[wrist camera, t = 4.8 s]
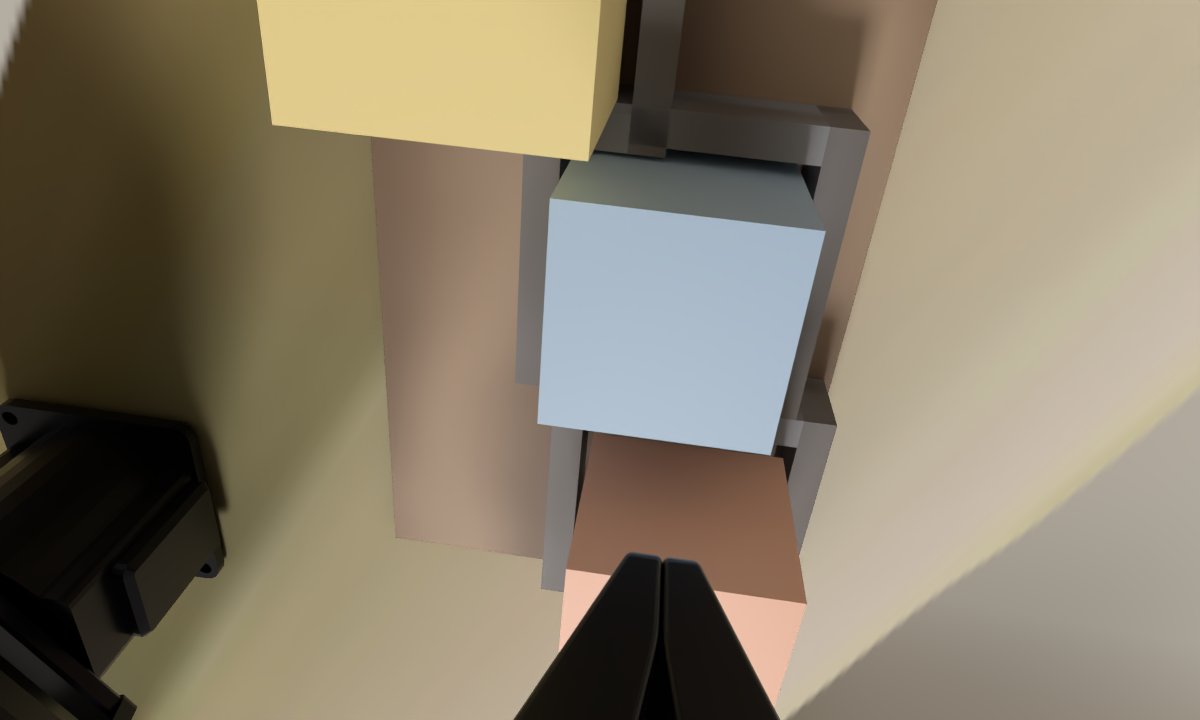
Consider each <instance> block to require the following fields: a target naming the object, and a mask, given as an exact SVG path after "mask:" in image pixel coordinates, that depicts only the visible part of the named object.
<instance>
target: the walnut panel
mask: <svg viewBox="0 0 1200 720" xmlns="http://www.w3.org/2000/svg"><path fill="white" fill-rule="evenodd" d="M936 4H937V0H627V5H626V15H625V26H624V36H623V47H622V58H621V68H620V79H619V89H618V99H617V101H616V103H615V106H614V108H613V110H612V112H611V114H610V116H609V118H608V120H607V123H606V125H605V127H604V129H603V131H602V133H601V135H600V138H599V140H598V142H597V144H596V146H595V148H594V150H599V151H607V152H616V153H625V154H633V155H642V156H651V157H659V158H665V155H666V149H674V150H683V151H691V152H700V153H709V154H718V155H726V156H735V157H744V158H752V159H761V160H770V161H778V162H787V163H796V164H797V165H798V168H799V170H800V172H801V175H802V177H803V179H804V182H805V184H806V186H807V189H808V191H809V193H810V196H811V198H812V200H813V203H814V205H815V207H816V210H817V212H818V214H819V217H820V219H821V221H822V224H823V226H824V229H825V231H826V232H825V236H824V240H823V244H822V248H821V252H820V256H819V261H818V265H817V269H816V273H815V277H814V281H813V285H812V289H811V293H810V297H809V301H808V305H807V309H806V313H805V317H804V322H803V326H802V330H801V334H800V338H799V342H798V346H797V350H796V354H795V358H794V362H793V366H792V370H791V374H790V378H789V383H788V387H787V391H786V395H785V399H784V403H783V407H782V411H781V415H780V419H779V423H778V427H777V431H776V435H775V439H774V444H773V448H772V452H771V455H765V454H757V453H750V452H742V451H735V450H728V449H720V448H713V447H705V446H698V445H691V444H683V443H676V442H669V441H661V440H654V439H646V438H639V437H632V436H624V435H617V434H610V433H602V432H595V431H587V430H580V429H573V428H565V427H558V426H550V425H543V424H537V422H538V404H539V385H540V367H541V349H542V331H543V313H544V295H545V277H546V259H547V241H548V222H549V204H550V197H551V195H552V193H553V192H554V190H555V188H556V186H557V184H558V182H559V181H560V179H561V177H562V175H563V173H564V171H565V170H566V168H567V166H568V164H569V162H570V161H571V159H562V158H554V157H545V156H537V155H528V154H519V153H511V152H502V151H494V150H485V149H477V148H468V147H459V146H451V145H442V144H434V143H425V142H417V141H408V140H399V139H391V138H382V137H374V136H371V146H372V162H373V178H374V194H375V210H376V226H377V242H378V259H379V275H380V291H381V307H382V323H383V339H384V355H385V371H386V387H387V403H388V419H389V435H390V451H391V467H392V483H393V499H394V515H395V531H396V538H401V539H408V540H414V541H421V542H428V543H435V544H442V545H449V546H456V547H463V548H470V549H477V550H483V551H490V552H497V553H504V554H511V555H518V556H525V557H532V558H539V559H543V567H542V582H541V589H546V590H552V591H559V592H564V586H565V575H566V567H567V562H568V557H569V552H570V547H571V542H572V537H573V533H574V528H575V523H576V518H577V513H578V508H579V503H580V498H581V493H582V489H583V484H584V479H585V474H586V469H587V464H588V459H589V454H590V449H591V445H592V440H593V435H594V433H602V434H609V435H616V436H624V437H631V438H639V439H646V440H653V441H661V442H668V443H675V444H683V445H690V446H698V447H705V448H712V449H720V450H727V451H734V452H742V453H749V454H757V455H764V456H771V457H779V458H783V461H784V467H785V473H786V479H787V485H788V492H789V498H790V504H791V510H792V516H793V522H794V529H795V535H796V541H797V547H798V553H799V554H800V550H801V547H802V544H803V540H804V537H805V533H806V530H807V526H808V523H809V520H810V516H811V513H812V509H813V506H814V503H815V499H816V496H817V492H818V489H819V486H820V482H821V479H822V475H823V472H824V468H825V465H826V462H827V458H828V455H829V451H830V448H831V445H832V441H833V438H834V434H835V431H836V427H837V424H836V421H835V417H834V413H833V410H832V406H831V403H830V399H829V396H828V392H829V388H830V384H831V381H832V377H833V374H834V370H835V366H836V363H837V359H838V356H839V352H840V349H841V345H842V341H843V338H844V334H845V331H846V327H847V323H848V320H849V316H850V313H851V309H852V305H853V302H854V298H855V295H856V291H857V287H858V284H859V280H860V277H861V273H862V270H863V266H864V262H865V259H866V255H867V252H868V248H869V244H870V241H871V237H872V234H873V230H874V226H875V223H876V219H877V216H878V212H879V208H880V205H881V201H882V198H883V194H884V191H885V187H886V183H887V180H888V176H889V173H890V169H891V165H892V162H893V158H894V155H895V151H896V147H897V144H898V140H899V137H900V133H901V129H902V126H903V122H904V119H905V115H906V112H907V108H908V104H909V101H910V97H911V94H912V90H913V86H914V83H915V79H916V76H917V72H918V68H919V65H920V61H921V58H922V54H923V50H924V47H925V43H926V40H927V36H928V33H929V29H930V25H931V22H932V18H933V15H934V11H935V7H936Z"/></svg>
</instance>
